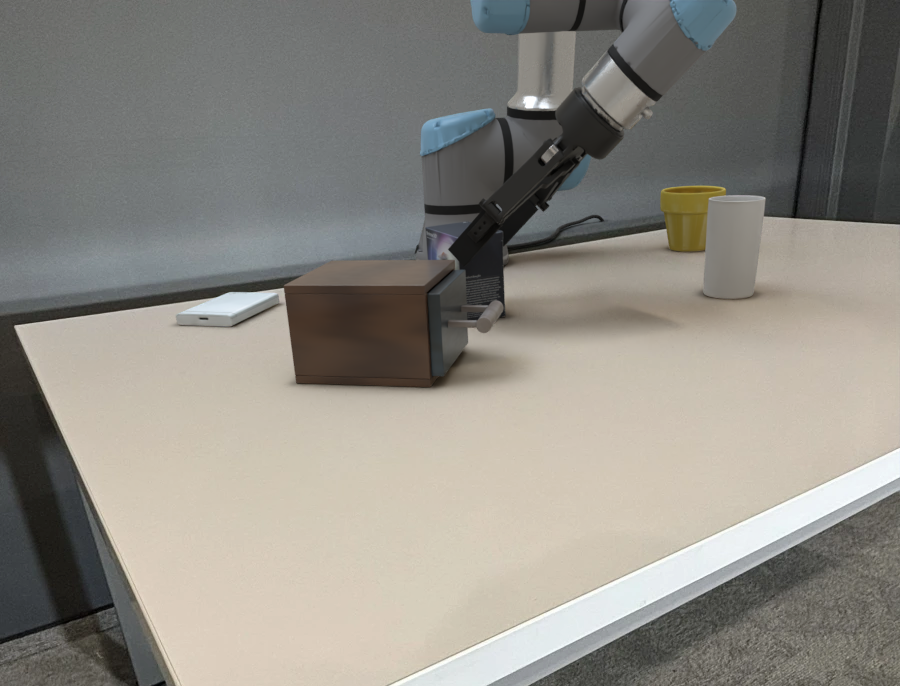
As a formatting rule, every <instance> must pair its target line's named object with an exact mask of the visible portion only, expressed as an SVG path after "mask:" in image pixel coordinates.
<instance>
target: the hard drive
mask: <svg viewBox="0 0 900 686" xmlns="http://www.w3.org/2000/svg"><path fill="white" fill-rule="evenodd" d="M279 303H280V296H279V293H276V292H260V291H259V292H258V291H257V292H255V291H253V292H251V291H249V292H247V291H229V292H227V293H224V294H221V295H219V296H217V297H214V298H211V299H209V300H207V301H204V302H202V303H200V304H197V305H195V306H192V307H190V308H187V309H185V310H183V311H180V312H179V313H176V314H175V320H176V324H177V325H180V326H198V327H199V326H200V327H201V326H203V327H204V326H205V327H224V328H225V327H227V328H228V327H232V326H234V325H237V324H238V323H241V322H243V321H245V320H247V319H249V318H251V317H253V316H255V315H257V314H259V313H261V312H263V311H265V310H267V309H269V308H271V307H274V306H275V305H278V304H279Z"/></svg>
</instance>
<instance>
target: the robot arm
mask: <svg viewBox="0 0 900 686" xmlns="http://www.w3.org/2000/svg"><path fill="white" fill-rule="evenodd" d="M469 1H470V6H471V16H472V17H471V18H472V20H473V24H474V25H475V27H476V28H477V30H478V31H480V32H482V33H484V34H502V35H504V34H505V35H508V36H516V35H518V37H517V38H518V39H517V76H516V77H517V78H516V79H517V80H516V92H515V94H514V95H513V96H512V97H511V98H510V99H509V100H508V102H507V103H506V116H504V117H496V113H495V111H494V109H493V108H490V107H489V108H488V107H487V108H482V109H476V110H469V111H464V112H459V113H454V114H449V115H443V116H440V117H437V118H431V119H429V120H426V121H425V122H424V123H423V125H422V127H421V129H420V151H419V155H420V157H421V171H422V172H421V173H422V190H423V191H422V192H423V205H424V206H423V207H424V209H423V210H424V221H423V225H422V229H421V232H420V235H419V236H420V237H419V240H418V244H417V245H416V246H415V250H414V255H415V260H428V256H427V242H426V229H425V227H430V226H438V225H445V224H452V223H459V222H467V221H468V222H471V224H470V225H469V226H468V227H467V228H466V229H465V230H464V232H463V233H462V234H461V235H460V236H459V237H458V238H457V240H456V241H455V242H454V243H453V244H452V245H451V246H450V248H449V249H448V250H449V251H450V252H451V253H452V254H453V256H454V257H455V258H456V259H457V260H458V261H459V262H460V263H461V264H462V265H463V266H466V265H467V264H468V263H469V262H470V261H471V260H472V259H473V258H474V256H475V255H476V254H477V253H478V252H479V251H480V250H481V249H482V248H483V247H484V245H485V244H486V243H487V242H488V241H489V240H490V239H491V238H492V237H493V236H494V234H495V233H496V232H497V231H498V230H502V231H503V265H504V266H506V265H507V264H508V263H509V250H514V249H521V248H527V247H531V246H535V245H540V244H543V243H547V242H549V241H552V240H553V239H554V238H555V237H557V236H558V235H559V234H560V231H562V230H563V229H566V228H569V227H572V226H576V225H580V224H582V223H585V222H587V221H590V220H592V219H597V220H598V221H600V222H605V220H604V218H603V217H602V216H601V215H599V214H591V215H588V216H586V217H584V218H581V219H579V220H573V221H570V222H566V223H564V224H562V225H560V226H559V227H557V228H556V230H555V232H553V233H552V234H551V235H549V236H547V237H544V238H541V239H537V240H532V241H528V242H522V243H516V244H508V243H509V242H510V241H511V240H512V239H513V238H514V237H515V235H516V234H517V233H519V231H520V230H521V229H522V228H523V227H524V226H525V225H526V224H527V223H528V221H529V220H530V219H531V218H532V217H533V216H534V215H535V214H536V213H537V212H538V210H540V211H542V212H543V213H544V212H546V210H548V209H549V207H550V204H549V203H548V202H549V201H551V200H552V199H553V197H554V196H555V194H556V193H557V192H563V191H569V190H573V189H574V188H577V187H578V186H579V185H580V183H582V181H583V179H584V178H585V176H586V174H587V172H588V170H589V167H590V164H591V161H592V158H593V159H595V160H599V161H600V160H604V159H605V158H607V157H608V156H609V154H610V153H611V152H612V151H613V150H615V148H616V147H617V146H618V145H619V144H620V143H621V142H622V141H623V139H625V130H633V128H634V127H635V126H636V125H638V123H639V122H640V121H641V119H646V120H650V119H651V118H652V116H653V114H654V113H653V110H652V109H651V107H652V106H653V107H654V106H655V105H656V103H657V102H658V101H660V99H662V98H663V96H665V95H666V94H667V93H668V91H670V90H671V89H672V87H673V86H674V85H675V84H676V83H678V82H679V80H680V79H681V78H682V77H683V76H684V75H685V74H686V73H687V72H688V71H689V70H690V69H691V68H692V67H693V66H694V65H695V63H696V62H698V61H699V59H701V57H702V56H704V55H705V53H706V52H708V51H709V50H710V49H712V48H713V46H714V44H715V42H716V40H718V38H719V37H720V36H721V35H722V34H723V32H725V30H726V29H727V28H728V27H729V26H730V24H731V23H732V22H733V21H734V19H735V18H736V15H737V11H738V10H737V9H738V7H737V4H736V2H735V1H734V0H469ZM617 30H618V31H620V32H621V34H619V36H618V37H617V39H616V40H615V41H613V43H612V45H611V46H610V47H609V48H608V49H606V51H604V53H603V54H602V55H601V56H600V58H599V59H598V60H597V61H596V62H595V63H594V64H593V65H592V67H591V68H590V69H589V70H588V71H587V72H586V73H585V74H584V75H583V76H582V78H581V85H582V87H581V86H578V87H574V78H575V77H574V76H575V75H574V74H575V60H576V59H575V57H576V56H575V55H576V42H577V41H576V40H577V39H576V38H577V32H593V31H594V32H596V31H617ZM497 205H498V206H497Z"/></svg>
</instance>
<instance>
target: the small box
mask: <svg viewBox="0 0 900 686" xmlns="http://www.w3.org/2000/svg"><path fill="white" fill-rule="evenodd" d="M470 224H471V222H468V221H467V222H459V223H452V224H445V225H438V226H430V227H425V229H426V242H427V256H428V260H455V270H465V272H466V298H467V305H488V306H489V304H490V303H491V302H492V301H495V300H497V301H500V302H501V303H502V304H503V307H504V309H503V312H502V313H501V315H500V316H499V318H504V317H506V316H507V314H506V313H507V311H506V301H505V300H506V298H505V274H504V271H505V270H504V266H505V265H503V231H502V230H498V231H497V232H496V233H495V234H494V236H493V237H492V238H491V239H490V240H489V241H488V242H487V243H486V244H485V245H484V247H483V248H482V249H481V250H480V251H479V252H478V253H477V254H476V255H475V256H474V258H473V259H472V260H471V261H470V262H469V263H468V264H467V265H466V266H463V265H462V264H461V263H460V262H459V261H458V260H457V259H456V258H455V257H454V256H453V254H452V253H451V252H450V251H449V250H448V249H449V248H450V246H451V245H452V244H453V243H454V242H455V241H456V240H457V238H458V237H459V236H460V235H461V234H462V233H463V232H464V230H465V229H466V228H467V227H468V226H469V225H470ZM482 314H483V312H467V320H478V319H479V317H480V316H481V315H482Z"/></svg>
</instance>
